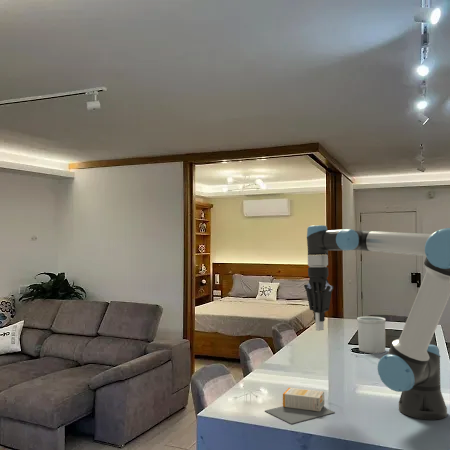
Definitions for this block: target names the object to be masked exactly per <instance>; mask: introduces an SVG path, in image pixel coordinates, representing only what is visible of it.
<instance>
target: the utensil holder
mask: <svg viewBox="0 0 450 450" xmlns="http://www.w3.org/2000/svg"><path fill="white" fill-rule="evenodd" d="M356 319H357V332H358V333H357V335H358V336H357V337H358V338H357V339H358V350H359V352H362V353H366V354H367V353H368V354H382V353H385V352H386V318H385V317H381V316H368V315H367V316H359V317H357V318H356Z"/></svg>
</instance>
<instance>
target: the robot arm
mask: <svg viewBox="0 0 450 450" xmlns="http://www.w3.org/2000/svg"><path fill="white" fill-rule="evenodd" d="M306 245H307V266H308V268H307V276H308V278H309V280H308V283H307V284H304V286H303V287H304V289H305V291H306V295H307V296H306V297H307V302H308V306H309V310H310V311H312V312H313V317H314V319H313V320H314V321H315V331H324V330H325V327H324V326H325V325H324V322H325V318H326V317H325V313H326V312H329V311H330V306H331V299H332V292H333V290H334V285H330V283H329V280H328V278H329V267H327V266H329V258H328V257H329V256H328V255H329V254H328V253H329V252H330V251H344V252H346V251H365V252H379V253H387V254H398V255H399V254H401V255H410V256H420V257H423V256H424V257H425V260H424V261H423V266H424V270H425V274H424V276H423V279H422V281H421V284H420V286H419V288H418V291H417V294H416V296H415V299H414V301H413V303H412V306H411V309H410V312H409V314H408V316H407V318H406V321H405V323H404V326H403V328H402V332H401V334H400V336H399V338H396V339H394V340H393V341H391V345H390V347H389V350H388V352H387V354H384V355H383V356H382V357H381V358H380V359H379V360H378V364H377V374H378V376H379V378H380V380H381V382H382V383H383V384H384V385H385V386H386V388H388V389H390V390H391V391H394V392H399V393H401V394H400V397H399V401H398V411H399V412H400V413H402V414H403V415H405V416H408V417H411V418H415V419H421V420H429V421H431V420H433V421H435V420H442V419H445V418H447V416H448V407H447V405H446V402H445V399H444V396H443V393H442V389H441V355H440V348H439V346H437V345H435V344H431V341H432V339H433V337H434V334H435V332H436V329H437V327H438V325H439V322H440V321H441V318H442V315H443V313H444V310H445V309H446V306H447V303H448V301H449V299H450V227H446V228H441V229H438V230H436V231H435V232H433V233H420V232H419V233H418V232H417V233H414V232H399V231H397V232H395V231H393V232H392V231H378V230H377V231H375V230H374V231H372V230H362V229H361V230H355V229H352V228H343V229H331V230H330V229H329V230H328V227H327V226H326V225H323V224H322V225H318V224H317V225H309V226H307V231H306Z"/></svg>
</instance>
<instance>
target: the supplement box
mask: <svg viewBox="0 0 450 450" xmlns="http://www.w3.org/2000/svg"><path fill="white" fill-rule="evenodd" d="M282 406H283V407H289V408H297V409H304V410H312V411H321V409H322V407H324V406H325V391H324V390H323V391H321V390H313V389H306V388H305V389H304V388H297V387H295V388H294V387H288V388H286V390H285V391H284V392H283V393H282Z"/></svg>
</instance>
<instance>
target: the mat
mask: <svg viewBox="0 0 450 450" xmlns="http://www.w3.org/2000/svg"><path fill="white" fill-rule="evenodd" d="M264 412H266V413H267V414H269V415H271V416H274V417H275V418H278V419H279V420H282V421H283V422H286V423H288V424H289V425H294V424H298V423H302V422H306V421H310V420H313V419H318V418H321V417H324V416H329V415H333V414H335V411H333V410H331V409H328V408H326V407H324V406H323V407H322V409H321V411H312V410H304V409H297V408H289V407H283V405H282V406H279V407H278V406H277V407H274V408H269V409H265V410H264Z"/></svg>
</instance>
